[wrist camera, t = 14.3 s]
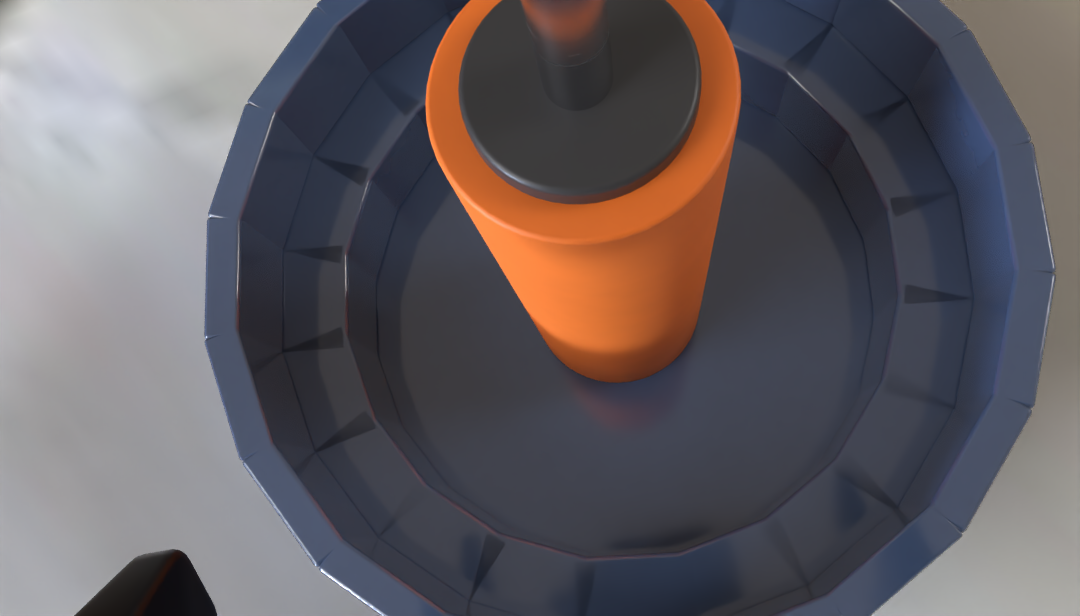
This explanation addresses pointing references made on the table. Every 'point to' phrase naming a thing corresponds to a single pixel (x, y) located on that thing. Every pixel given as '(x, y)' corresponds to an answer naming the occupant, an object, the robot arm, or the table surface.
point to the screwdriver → (592, 164)
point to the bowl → (672, 393)
